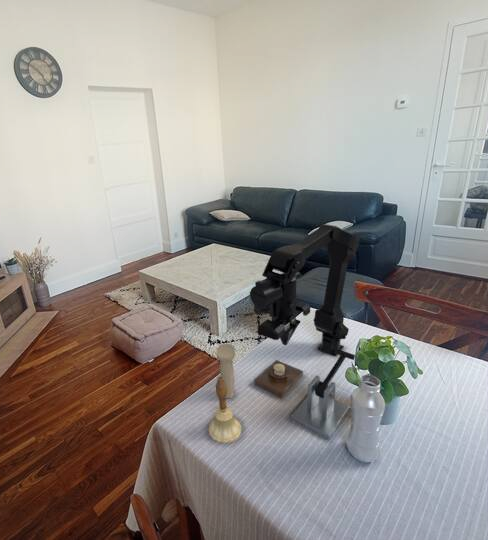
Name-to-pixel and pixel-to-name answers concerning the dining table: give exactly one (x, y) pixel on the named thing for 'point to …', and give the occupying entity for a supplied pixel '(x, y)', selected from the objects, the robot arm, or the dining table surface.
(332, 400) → the bracket
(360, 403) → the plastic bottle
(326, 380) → the lever
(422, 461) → the dining table surface
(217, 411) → the hand bell
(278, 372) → the button
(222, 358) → the handle
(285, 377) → the button block
